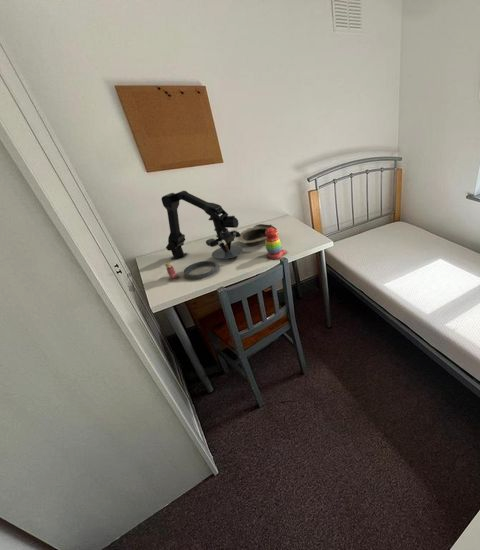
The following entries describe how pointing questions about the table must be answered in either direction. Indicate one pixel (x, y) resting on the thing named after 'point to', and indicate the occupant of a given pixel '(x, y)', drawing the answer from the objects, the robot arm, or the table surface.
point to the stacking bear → (273, 244)
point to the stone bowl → (254, 235)
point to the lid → (227, 252)
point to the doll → (171, 271)
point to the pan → (204, 275)
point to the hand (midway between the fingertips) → (227, 251)
